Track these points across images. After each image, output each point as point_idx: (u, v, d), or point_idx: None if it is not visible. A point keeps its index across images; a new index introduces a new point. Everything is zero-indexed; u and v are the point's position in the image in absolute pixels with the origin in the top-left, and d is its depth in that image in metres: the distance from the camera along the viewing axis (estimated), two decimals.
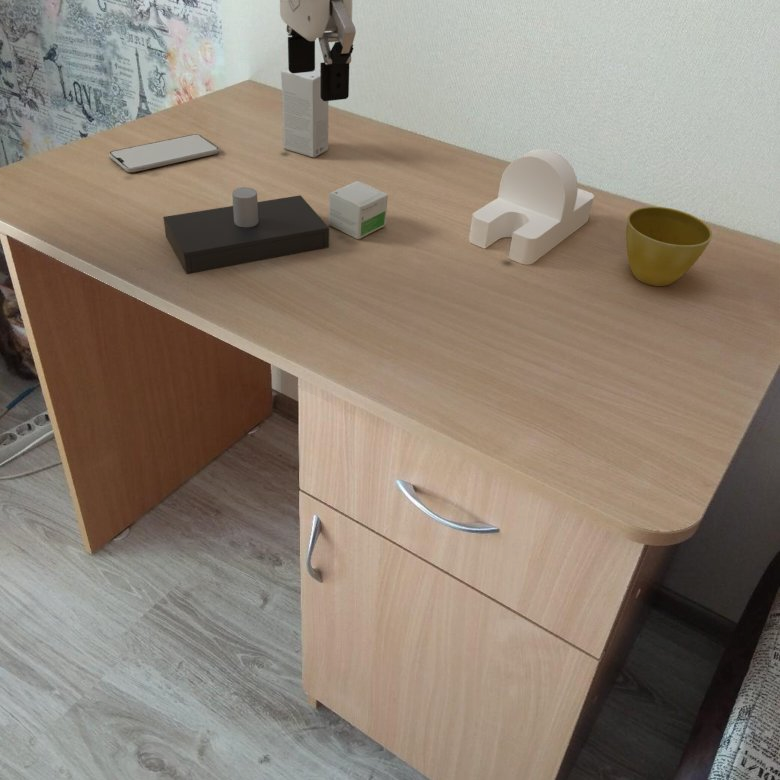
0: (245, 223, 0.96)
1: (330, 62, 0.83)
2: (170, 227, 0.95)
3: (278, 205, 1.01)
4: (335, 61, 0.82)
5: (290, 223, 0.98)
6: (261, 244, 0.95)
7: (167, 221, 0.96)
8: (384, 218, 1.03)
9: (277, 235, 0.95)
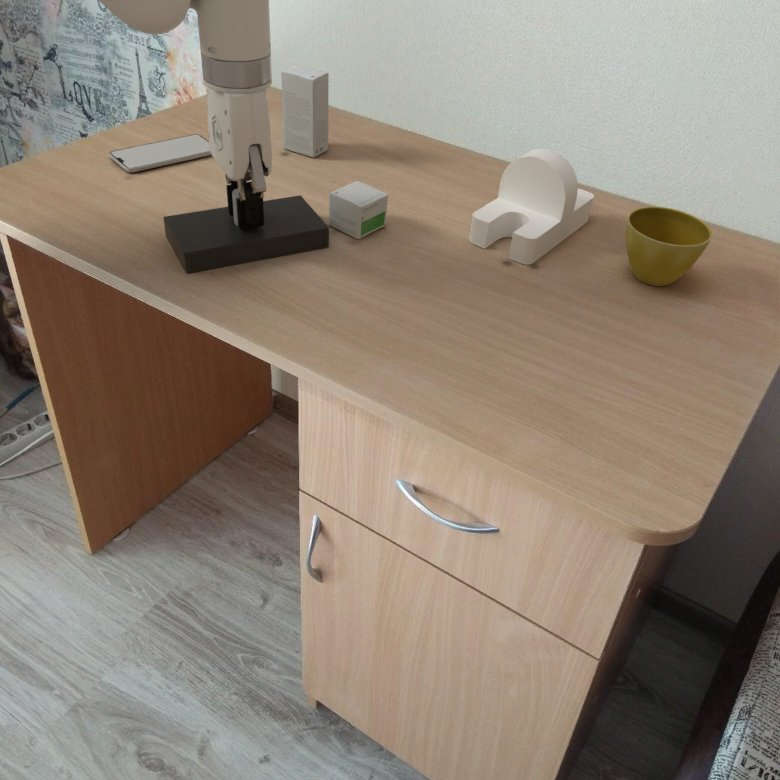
0: None
1: (244, 199, 0.92)
2: (170, 227, 0.95)
3: (278, 205, 1.01)
4: (248, 198, 0.92)
5: (290, 223, 0.98)
6: (261, 244, 0.95)
7: (167, 221, 0.96)
8: (384, 218, 1.03)
9: (277, 235, 0.95)
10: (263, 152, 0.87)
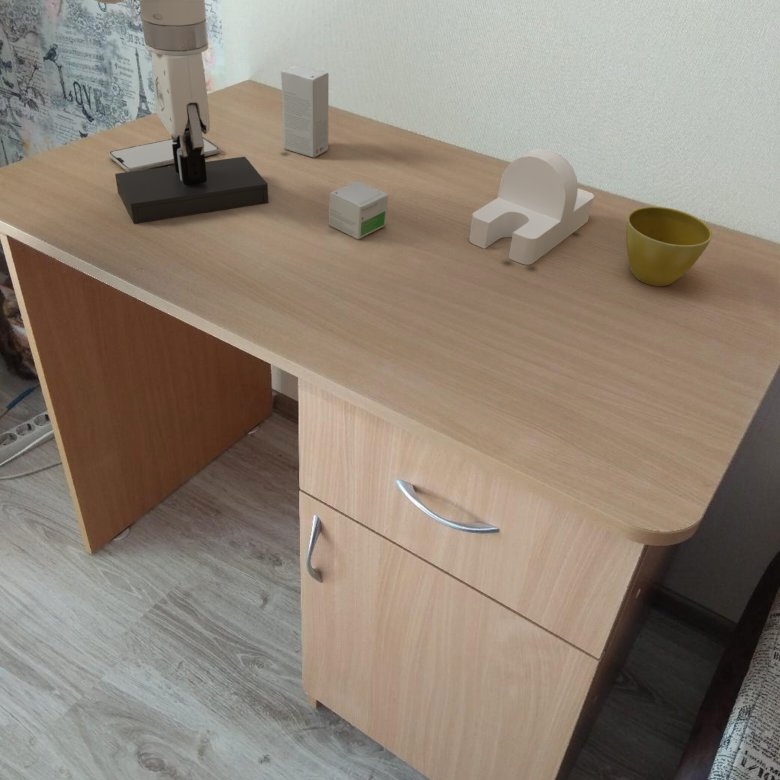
0: None
1: (186, 155, 1.01)
2: (120, 182, 1.04)
3: (223, 164, 1.10)
4: (190, 155, 1.00)
5: (232, 180, 1.06)
6: (203, 198, 1.03)
7: (118, 177, 1.05)
8: (384, 218, 1.03)
9: (218, 190, 1.04)
10: (200, 110, 0.96)
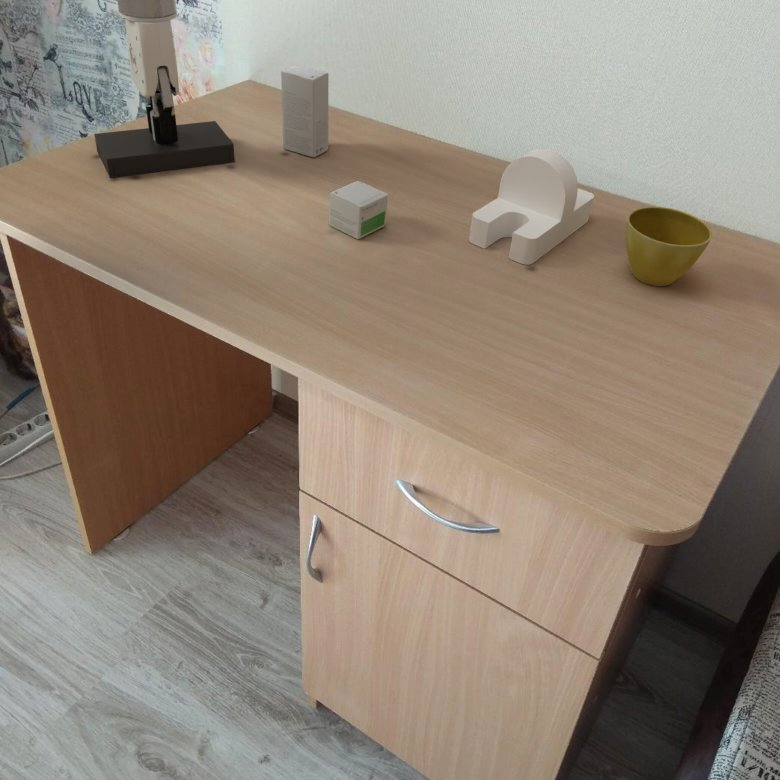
0: None
1: (158, 116, 1.10)
2: (98, 141, 1.14)
3: (194, 127, 1.20)
4: (161, 115, 1.10)
5: (201, 140, 1.16)
6: (174, 155, 1.13)
7: (97, 137, 1.15)
8: (384, 218, 1.03)
9: (188, 148, 1.14)
10: (170, 73, 1.06)
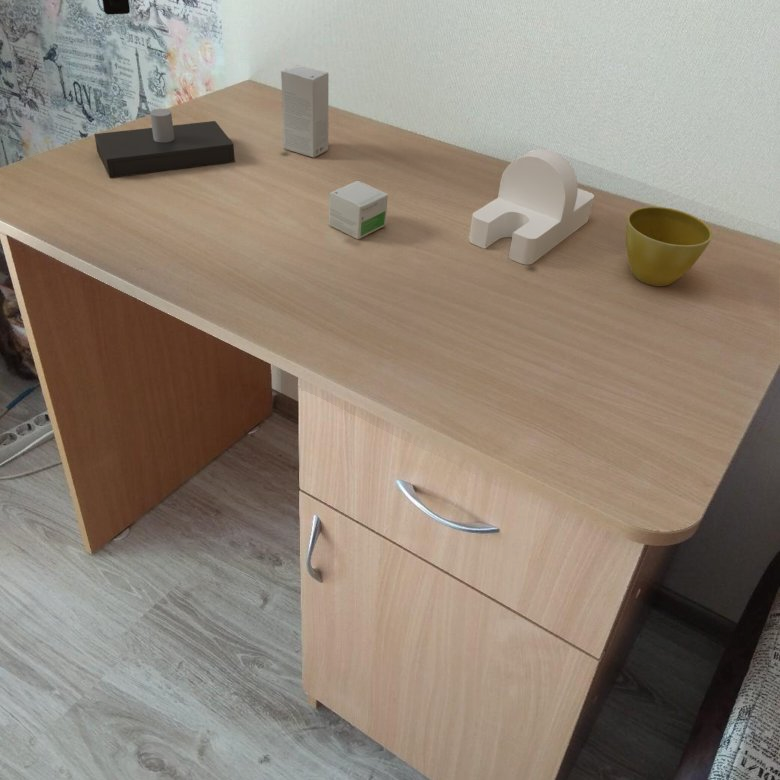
0: (162, 139, 1.14)
1: None
2: (98, 141, 1.14)
3: (194, 127, 1.20)
4: None
5: (201, 140, 1.16)
6: (174, 155, 1.13)
7: (97, 137, 1.15)
8: (384, 218, 1.03)
9: (188, 148, 1.14)
10: None
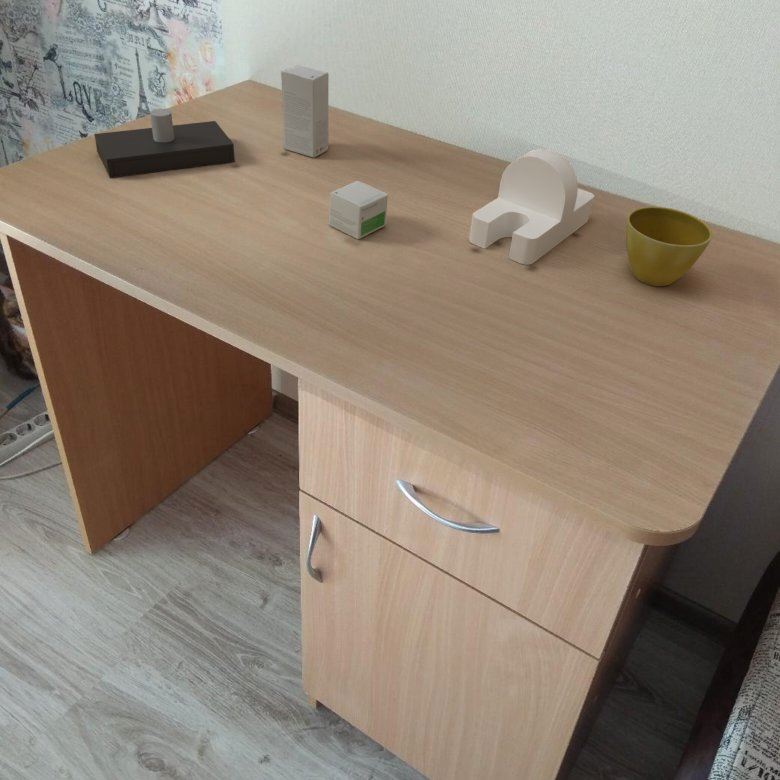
0: (162, 139, 1.14)
1: None
2: (98, 141, 1.14)
3: (194, 127, 1.20)
4: None
5: (201, 140, 1.16)
6: (174, 155, 1.13)
7: (97, 137, 1.15)
8: (384, 218, 1.03)
9: (188, 148, 1.14)
10: None
